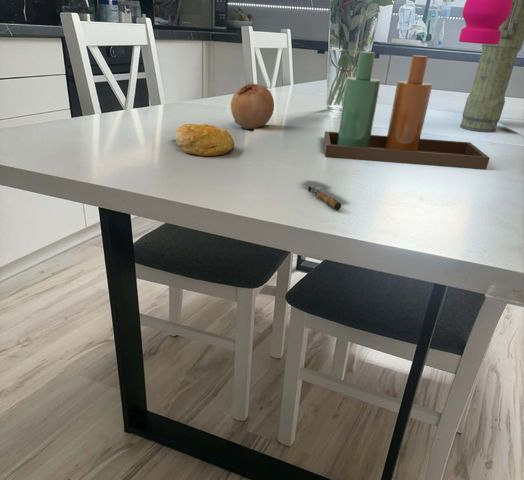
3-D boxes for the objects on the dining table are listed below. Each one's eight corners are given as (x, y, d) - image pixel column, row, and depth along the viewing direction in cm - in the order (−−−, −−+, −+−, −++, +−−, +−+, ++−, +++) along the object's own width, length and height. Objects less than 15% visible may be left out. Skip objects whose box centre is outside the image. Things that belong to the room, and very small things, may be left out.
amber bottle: (413, 152, 93) (434, 56, 84) (418, 160, 88) (442, 58, 79) (382, 150, 93) (400, 53, 84) (385, 157, 88) (405, 56, 79)
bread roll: (245, 154, 87) (246, 126, 84) (188, 159, 82) (187, 129, 79) (220, 142, 93) (220, 115, 91) (166, 146, 88) (165, 118, 86)
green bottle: (366, 148, 93) (382, 52, 84) (369, 156, 89) (387, 54, 79) (335, 146, 94) (348, 50, 85) (337, 153, 89) (351, 52, 80)
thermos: (488, 125, 128) (539, -45, 107) (502, 134, 118) (561, -50, 98) (454, 122, 128) (499, -47, 108) (465, 131, 118) (516, -53, 98)
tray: (466, 156, 96) (470, 142, 94) (485, 173, 85) (489, 157, 84) (323, 145, 97) (324, 131, 95) (324, 160, 86) (326, 145, 85)
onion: (247, 146, 106) (240, 103, 97) (227, 125, 110) (218, 82, 102) (284, 127, 107) (279, 84, 99) (263, 108, 112) (257, 64, 103)
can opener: (341, 210, 64) (342, 202, 63) (325, 211, 63) (326, 202, 63) (317, 190, 71) (318, 182, 70) (302, 191, 70) (303, 182, 70)
